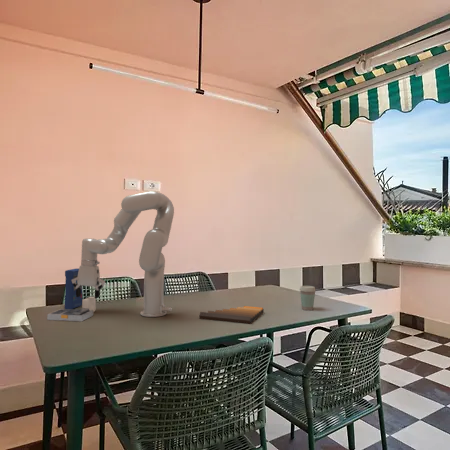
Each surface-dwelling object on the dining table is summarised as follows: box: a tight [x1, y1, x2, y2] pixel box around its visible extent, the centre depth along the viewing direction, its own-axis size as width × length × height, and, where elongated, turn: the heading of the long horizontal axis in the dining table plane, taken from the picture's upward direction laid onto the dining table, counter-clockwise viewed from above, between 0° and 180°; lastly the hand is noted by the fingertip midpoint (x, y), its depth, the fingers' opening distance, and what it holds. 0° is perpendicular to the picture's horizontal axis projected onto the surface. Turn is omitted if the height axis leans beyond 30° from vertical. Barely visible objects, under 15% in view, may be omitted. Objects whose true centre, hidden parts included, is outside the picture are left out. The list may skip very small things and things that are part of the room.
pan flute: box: [198, 305, 264, 325], centre depth 187 cm, size 25×3×25 cm
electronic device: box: [64, 268, 83, 309], centre depth 201 cm, size 10×5×20 cm, turn 168°
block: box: [81, 296, 97, 313], centre depth 190 cm, size 3×8×7 cm, turn 173°
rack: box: [46, 308, 94, 322], centre depth 179 cm, size 17×11×4 cm
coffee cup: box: [299, 285, 317, 311], centre depth 203 cm, size 9×8×12 cm
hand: (87, 297), depth 191 cm, fingers open, 9 cm apart
